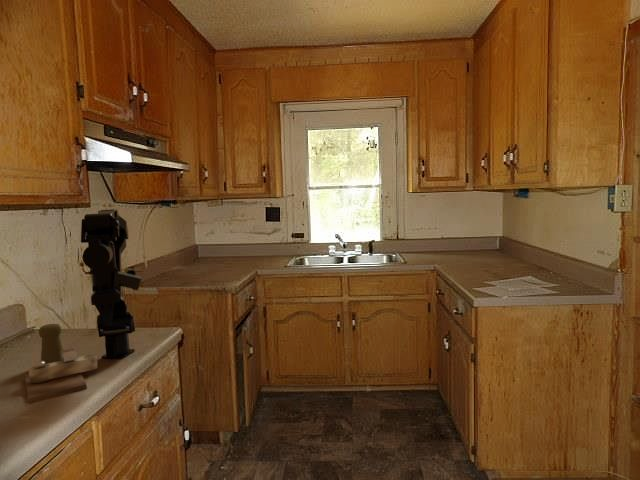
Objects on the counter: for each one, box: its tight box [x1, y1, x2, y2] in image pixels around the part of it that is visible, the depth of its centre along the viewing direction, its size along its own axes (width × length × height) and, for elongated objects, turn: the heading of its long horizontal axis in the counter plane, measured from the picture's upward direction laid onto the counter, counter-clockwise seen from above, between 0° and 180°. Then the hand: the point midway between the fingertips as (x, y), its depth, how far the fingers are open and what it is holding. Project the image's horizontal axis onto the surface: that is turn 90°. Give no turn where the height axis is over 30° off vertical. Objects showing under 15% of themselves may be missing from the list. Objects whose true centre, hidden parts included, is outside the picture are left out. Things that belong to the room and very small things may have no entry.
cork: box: [38, 323, 64, 364], centre depth 126 cm, size 6×6×11 cm
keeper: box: [32, 347, 79, 368], centre depth 116 cm, size 9×8×6 cm
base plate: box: [24, 372, 88, 403], centre depth 113 cm, size 18×12×1 cm, turn 34°
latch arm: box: [28, 354, 98, 383], centre depth 115 cm, size 15×4×3 cm, turn 124°
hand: (108, 325), depth 118 cm, fingers closed
